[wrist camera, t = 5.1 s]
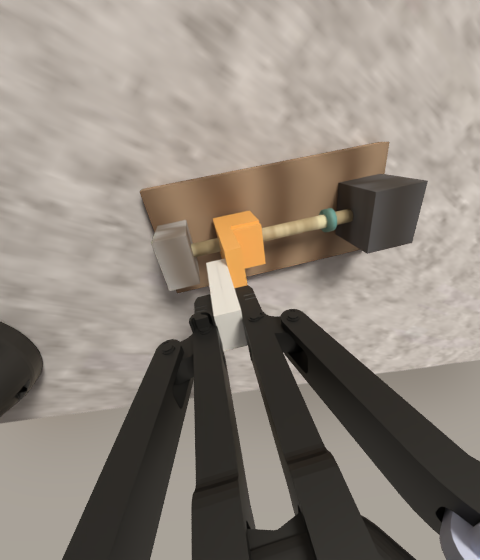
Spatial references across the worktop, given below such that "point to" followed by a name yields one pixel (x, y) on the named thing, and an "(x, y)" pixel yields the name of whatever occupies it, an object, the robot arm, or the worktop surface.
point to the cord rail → (285, 212)
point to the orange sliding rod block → (240, 244)
